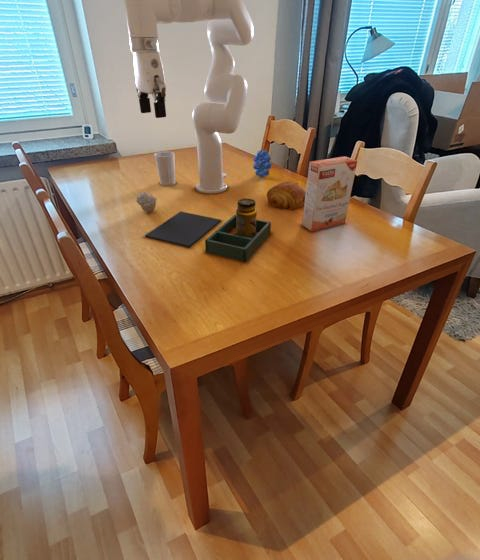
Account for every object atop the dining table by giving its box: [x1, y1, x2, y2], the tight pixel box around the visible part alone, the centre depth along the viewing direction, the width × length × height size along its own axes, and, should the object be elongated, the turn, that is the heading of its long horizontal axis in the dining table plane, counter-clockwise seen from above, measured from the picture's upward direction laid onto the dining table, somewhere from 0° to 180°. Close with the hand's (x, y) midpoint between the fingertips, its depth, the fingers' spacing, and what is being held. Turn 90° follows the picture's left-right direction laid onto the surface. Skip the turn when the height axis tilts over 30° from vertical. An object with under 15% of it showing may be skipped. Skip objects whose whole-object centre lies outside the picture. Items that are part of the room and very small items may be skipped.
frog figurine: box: [135, 192, 157, 213], centre depth 123 cm, size 6×7×7 cm
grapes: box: [252, 149, 273, 179], centre depth 153 cm, size 12×7×12 cm, turn 34°
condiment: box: [234, 197, 258, 239], centre depth 105 cm, size 7×8×12 cm
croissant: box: [266, 181, 306, 210], centre depth 130 cm, size 14×16×8 cm
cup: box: [154, 150, 176, 187], centre depth 147 cm, size 8×8×12 cm
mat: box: [144, 211, 222, 249], centre depth 114 cm, size 20×16×1 cm
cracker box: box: [301, 156, 358, 232], centre depth 111 cm, size 14×6×21 cm, turn 117°
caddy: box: [204, 214, 272, 263], centre depth 105 cm, size 19×13×4 cm, turn 155°
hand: (153, 114), depth 105 cm, fingers open, 9 cm apart
